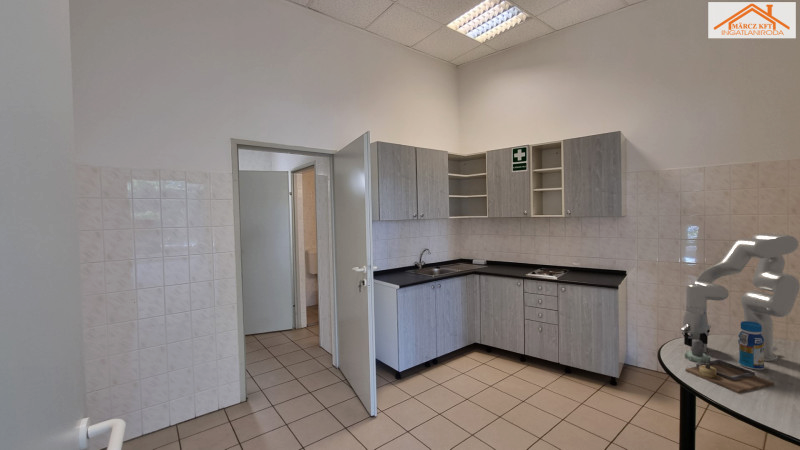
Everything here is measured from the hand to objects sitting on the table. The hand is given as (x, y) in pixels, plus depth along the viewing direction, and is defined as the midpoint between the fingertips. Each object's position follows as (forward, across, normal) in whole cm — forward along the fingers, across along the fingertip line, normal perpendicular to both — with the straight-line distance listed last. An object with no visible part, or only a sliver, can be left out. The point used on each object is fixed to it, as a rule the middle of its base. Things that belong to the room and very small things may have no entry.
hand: (695, 344), depth 165 cm
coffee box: (+7, -14, -9) cm, 18 cm away
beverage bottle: (+7, -15, +13) cm, 21 cm away
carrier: (+7, +6, +17) cm, 20 cm away
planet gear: (+7, -1, 0) cm, 7 cm away
